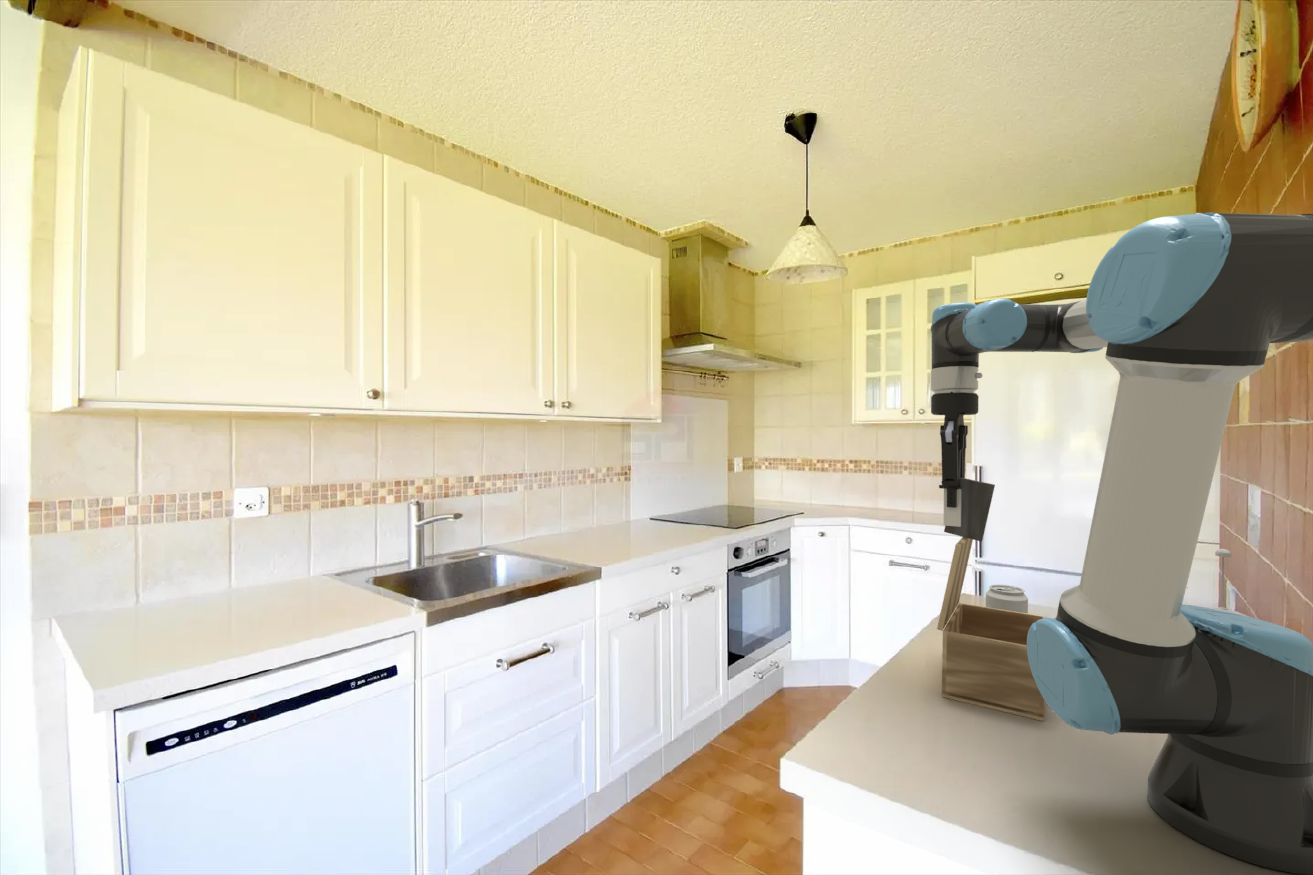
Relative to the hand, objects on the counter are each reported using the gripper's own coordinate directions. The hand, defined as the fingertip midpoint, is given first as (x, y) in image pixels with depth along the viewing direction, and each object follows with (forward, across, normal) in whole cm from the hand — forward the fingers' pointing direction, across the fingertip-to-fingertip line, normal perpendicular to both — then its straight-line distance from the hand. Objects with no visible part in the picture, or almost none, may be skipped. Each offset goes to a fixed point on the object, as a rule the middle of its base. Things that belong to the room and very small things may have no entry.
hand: (953, 524), depth 104 cm
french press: (+28, +16, -38) cm, 49 cm away
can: (+27, +24, -6) cm, 37 cm away
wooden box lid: (+5, 0, -4) cm, 6 cm away
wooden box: (+27, 0, -7) cm, 28 cm away
